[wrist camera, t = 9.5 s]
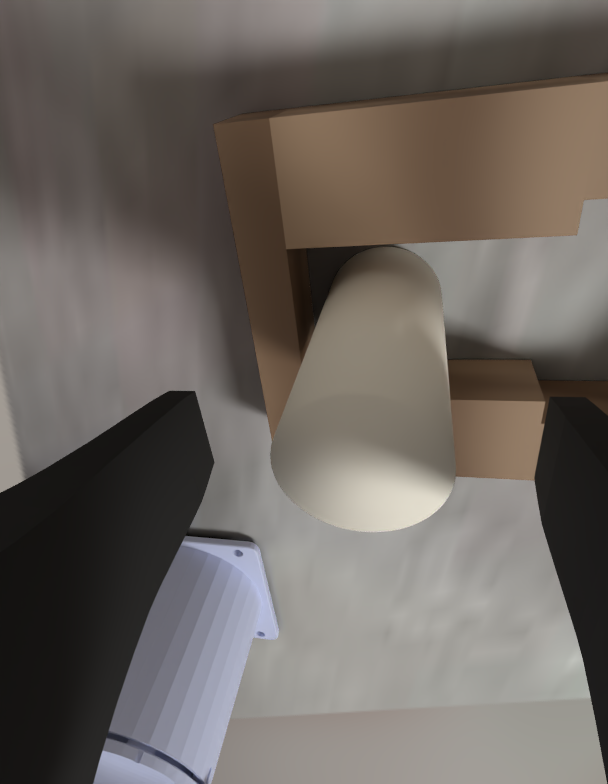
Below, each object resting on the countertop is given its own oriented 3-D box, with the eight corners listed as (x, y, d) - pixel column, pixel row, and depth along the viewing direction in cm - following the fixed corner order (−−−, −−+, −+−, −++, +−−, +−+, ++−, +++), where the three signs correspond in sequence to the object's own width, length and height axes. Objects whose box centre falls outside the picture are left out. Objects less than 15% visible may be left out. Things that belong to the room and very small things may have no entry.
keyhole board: (290, 426, 20) (276, 467, 18) (242, 113, 14) (213, 124, 12) (762, 441, 16) (808, 494, 14) (971, 31, 10) (1099, 27, 8)
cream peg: (332, 348, 18) (279, 523, 11) (327, 247, 16) (260, 388, 9) (437, 351, 17) (446, 540, 10) (446, 245, 15) (465, 398, 8)
